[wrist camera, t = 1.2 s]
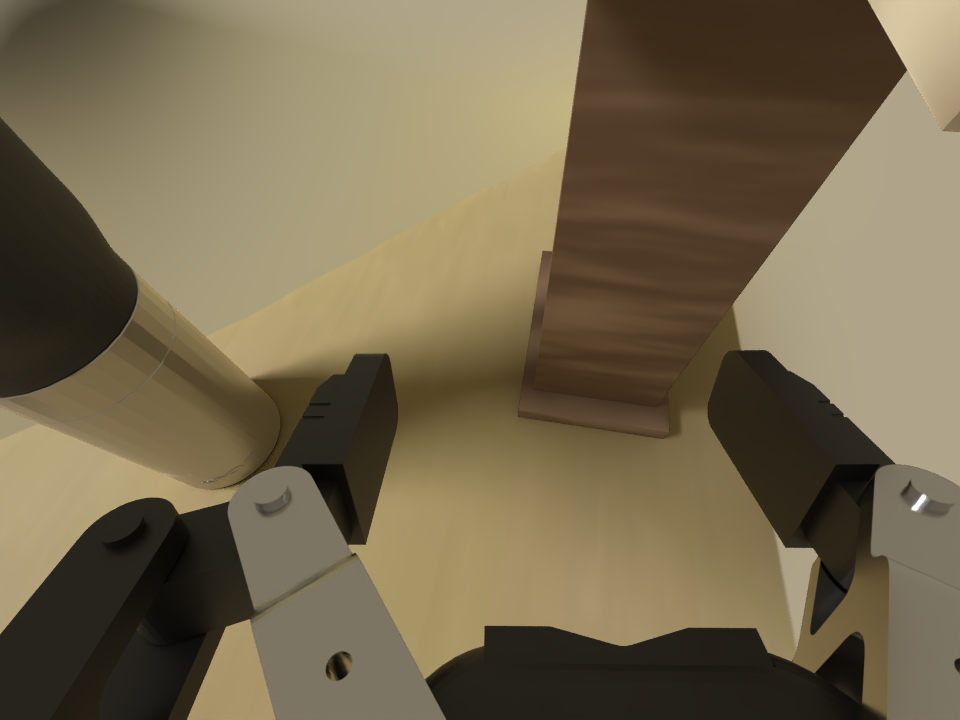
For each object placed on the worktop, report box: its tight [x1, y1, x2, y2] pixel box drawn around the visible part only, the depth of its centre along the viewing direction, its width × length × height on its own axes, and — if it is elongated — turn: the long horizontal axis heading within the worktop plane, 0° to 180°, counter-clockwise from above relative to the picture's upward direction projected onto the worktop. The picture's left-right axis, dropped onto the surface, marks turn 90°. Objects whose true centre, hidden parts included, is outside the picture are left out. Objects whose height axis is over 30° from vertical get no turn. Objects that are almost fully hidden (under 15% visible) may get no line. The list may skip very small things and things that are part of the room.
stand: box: [518, 0, 907, 439], centre depth 27 cm, size 20×14×32 cm
